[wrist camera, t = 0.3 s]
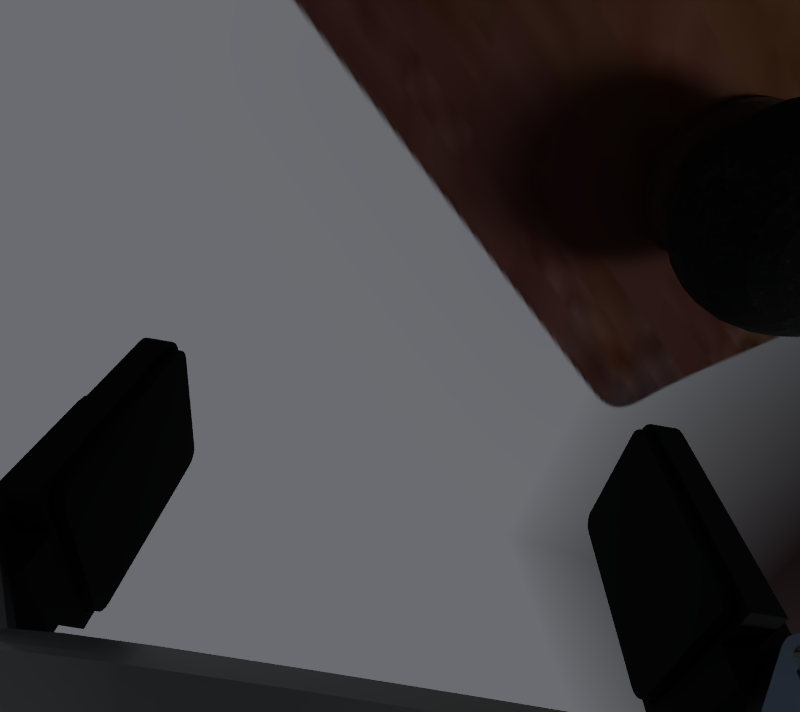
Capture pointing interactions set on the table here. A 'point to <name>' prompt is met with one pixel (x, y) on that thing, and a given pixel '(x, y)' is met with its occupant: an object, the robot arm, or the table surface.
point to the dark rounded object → (734, 211)
